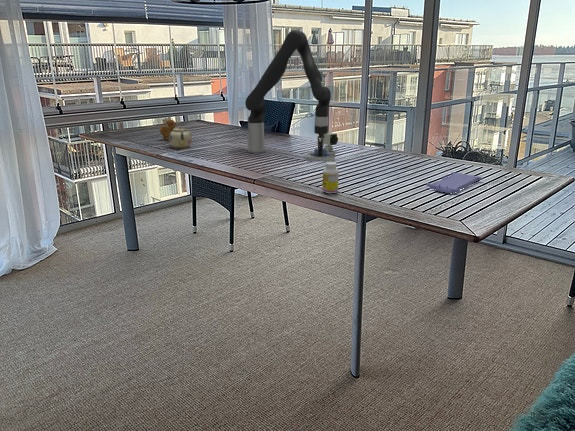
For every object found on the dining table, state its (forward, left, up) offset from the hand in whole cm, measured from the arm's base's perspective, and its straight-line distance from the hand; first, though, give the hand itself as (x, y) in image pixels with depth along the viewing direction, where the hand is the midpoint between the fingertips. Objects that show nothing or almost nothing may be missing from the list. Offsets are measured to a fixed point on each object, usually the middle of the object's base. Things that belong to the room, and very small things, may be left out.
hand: (320, 154), depth 261 cm
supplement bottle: (+8, -67, -2) cm, 67 cm away
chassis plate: (0, 0, -2) cm, 2 cm away
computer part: (+63, -49, -3) cm, 80 cm away
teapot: (-87, +18, -2) cm, 89 cm away
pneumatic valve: (+4, +18, -2) cm, 19 cm away
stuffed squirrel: (-103, +41, -2) cm, 111 cm away
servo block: (0, 0, -2) cm, 2 cm away
